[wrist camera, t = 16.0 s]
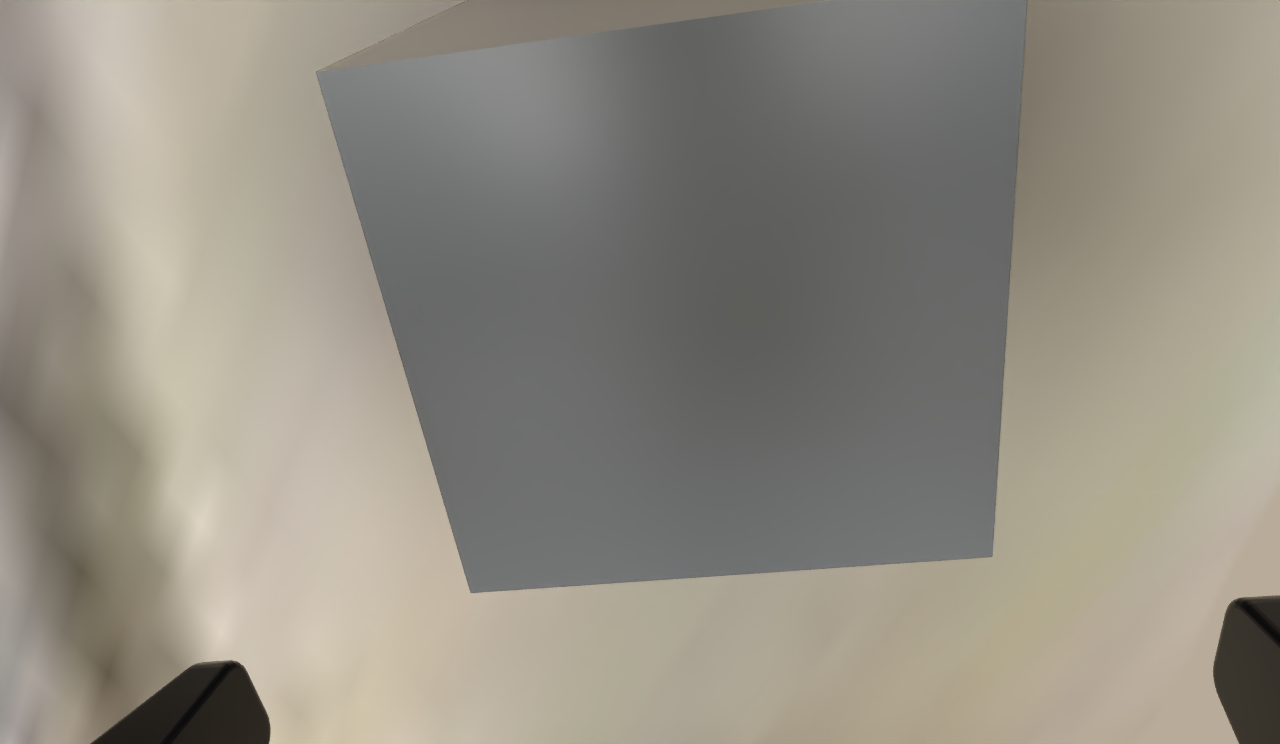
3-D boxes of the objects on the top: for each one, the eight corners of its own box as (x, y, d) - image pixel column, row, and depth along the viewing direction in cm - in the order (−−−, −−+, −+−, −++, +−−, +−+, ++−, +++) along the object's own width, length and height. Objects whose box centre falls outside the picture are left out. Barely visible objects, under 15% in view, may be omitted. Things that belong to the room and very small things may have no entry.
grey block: (878, 305, 20) (992, 557, 13) (552, 337, 21) (470, 592, 14) (875, -64, 17) (1028, -28, 9) (481, -7, 18) (316, 72, 10)
